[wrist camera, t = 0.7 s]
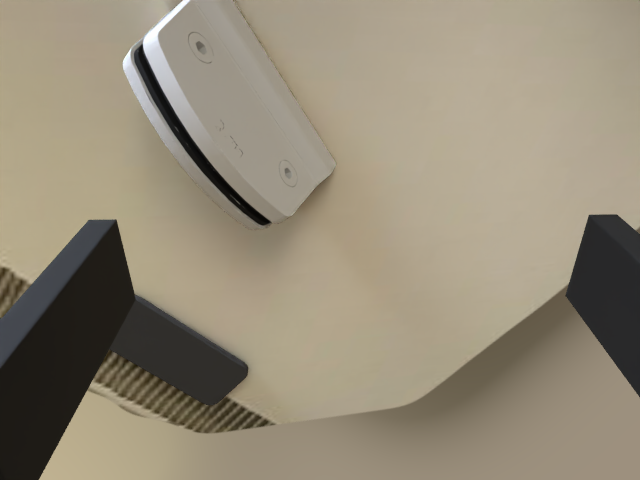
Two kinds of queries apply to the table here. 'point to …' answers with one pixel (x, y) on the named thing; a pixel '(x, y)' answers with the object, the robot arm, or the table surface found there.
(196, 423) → the table surface
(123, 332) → the phone
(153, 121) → the white piece
